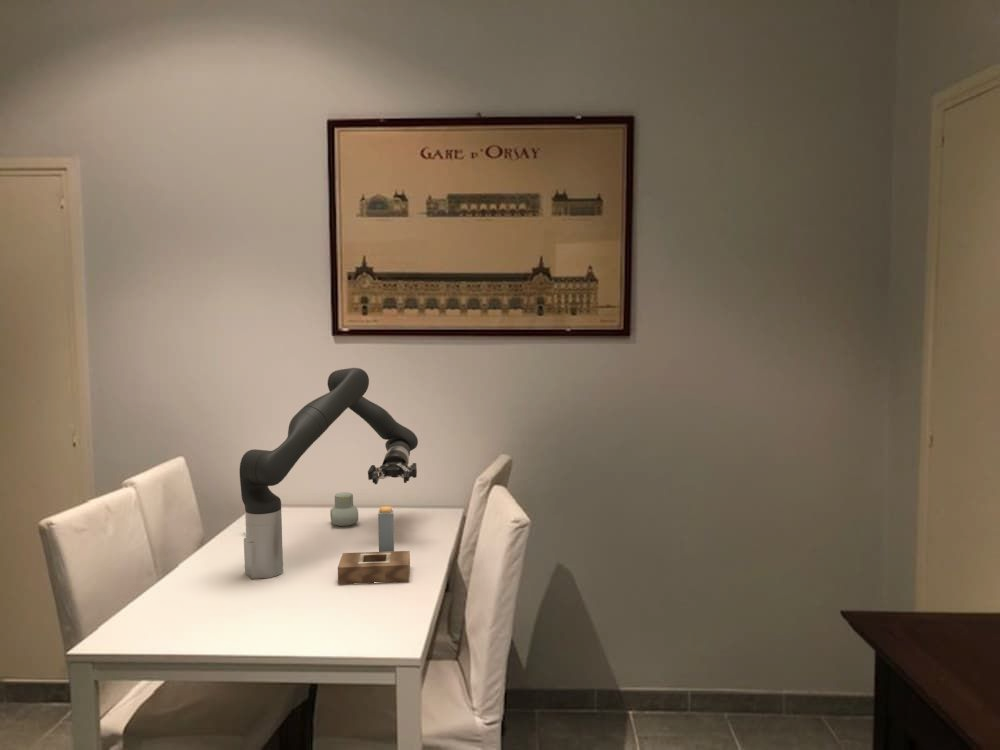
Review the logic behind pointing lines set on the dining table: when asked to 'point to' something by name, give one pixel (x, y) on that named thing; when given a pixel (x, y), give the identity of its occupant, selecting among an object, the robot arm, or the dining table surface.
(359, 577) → the socket block
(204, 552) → the dining table surface
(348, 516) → the air freshener
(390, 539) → the peg
